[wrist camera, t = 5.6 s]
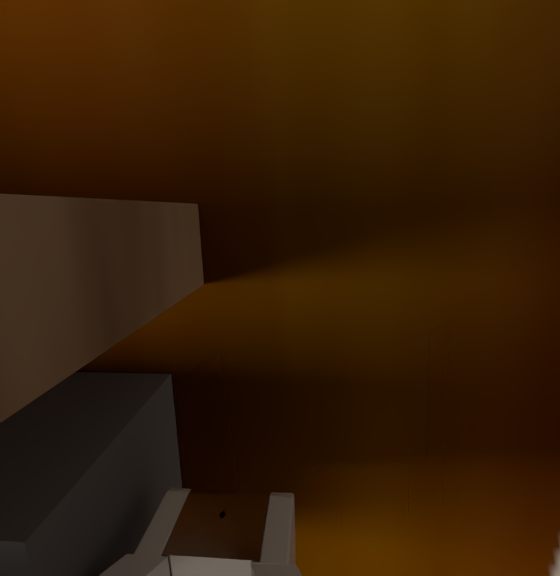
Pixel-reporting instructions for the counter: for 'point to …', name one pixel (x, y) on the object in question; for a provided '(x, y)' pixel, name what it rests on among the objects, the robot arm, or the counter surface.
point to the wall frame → (84, 281)
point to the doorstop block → (85, 472)
